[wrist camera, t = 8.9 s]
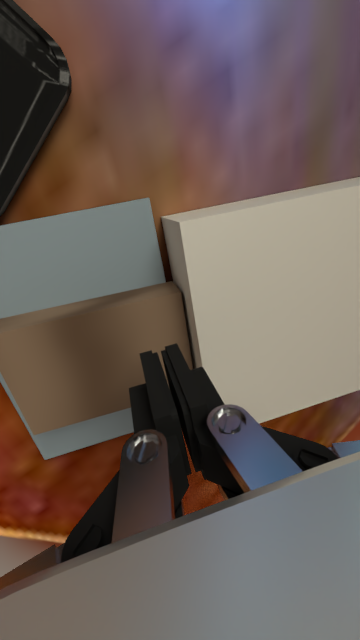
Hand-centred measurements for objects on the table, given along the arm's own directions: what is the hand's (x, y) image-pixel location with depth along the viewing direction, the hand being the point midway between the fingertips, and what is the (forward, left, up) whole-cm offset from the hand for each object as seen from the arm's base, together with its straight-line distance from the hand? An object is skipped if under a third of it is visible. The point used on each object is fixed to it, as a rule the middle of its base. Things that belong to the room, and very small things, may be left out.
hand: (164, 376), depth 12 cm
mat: (+3, 0, -5) cm, 6 cm away
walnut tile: (+3, 0, -4) cm, 5 cm away
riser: (-9, 0, -5) cm, 10 cm away
